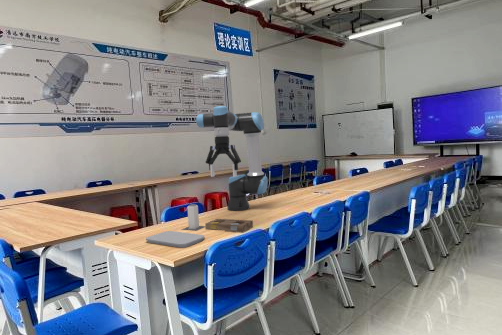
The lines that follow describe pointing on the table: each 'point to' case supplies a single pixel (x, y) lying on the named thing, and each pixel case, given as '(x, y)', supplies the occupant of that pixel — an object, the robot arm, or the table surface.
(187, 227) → the mat
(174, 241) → the tablet
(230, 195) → the robot arm
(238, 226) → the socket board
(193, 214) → the grey upright block
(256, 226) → the table surface
